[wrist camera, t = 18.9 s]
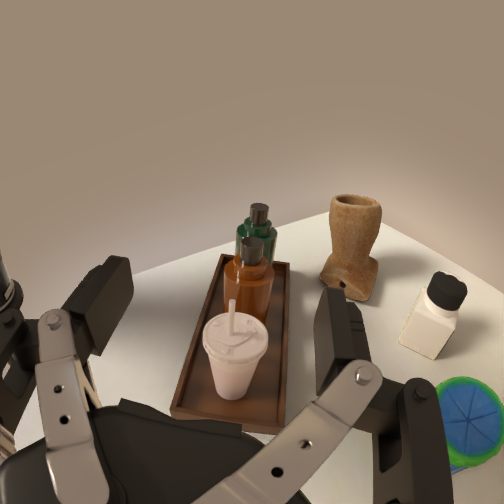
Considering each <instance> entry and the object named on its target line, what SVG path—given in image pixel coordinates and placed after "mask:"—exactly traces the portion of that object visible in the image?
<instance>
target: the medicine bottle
mask: <svg viewBox="0 0 504 504" xmlns="http://www.w3.org/2000/svg"><path fill="white" fill-rule="evenodd" d="M466 295H467V287H466V285H465V283H464V282H463V281H462V280H461V279H460V278H459V277H458V276H456V275H455V274H453V273H450V272H447V271H438V272H436V273H435V274H434V275H433V277H432V279H431V282H430V284H429V286H428V288H426V287H423V288H422V290H421V292H420V294H419V296H418V298H417V300H416V302H415V304H414V306H413V308H412V310H411V312H410V314H409V316H408V318H407V321H406V323H405V325H404V328H403V330H402V332H401V335H400V337H399V339H398V343H400V344H402V345H404V346H406V347H408V348H410V349H412V350H414V351H416V352H418V353H420V354H422V355H424V356H426V357H428V358H430V359H432V360H435V359H436V358H437V356H438V355H439V353H440V352H441V350H442V349H443V347H444V346H445V344H446V343H447V341H448V340H449V338H450V337H451V335H452V334H453V332H454V331H455V328H456V323H457V317H458V310H459V308H460V306H461V304H462V302H463V301H464V299H465V297H466Z"/></svg>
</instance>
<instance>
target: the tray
mask: <svg viewBox="0 0 504 504" xmlns="http://www.w3.org/2000/svg"><path fill="white" fill-rule="evenodd" d="M234 257H235V256H234V255H227V254H225V255H224V254H221V256H220V259H219V262H218V264H217V267H216V270H215V273H214V276H213V279H212V282H211V285H210V288H209V290H208V293H207V296H206V299H205V302H204V305H203V308H202V311H201V314H200V317H199V320H198V323H197V326H196V329H195V332H194V335H193V338H192V341H191V344H190V347H189V350H188V353H187V356H186V359H185V362H184V365H183V369H182V372H181V375H180V378H179V381H178V384H177V387H176V391H175V394H174V397H173V400H172V403H171V406H170V413H171V417H172V418H174V419H178V420H202V419H213V420H219V421H225V422H231V423H238V424H242V431H246V432H254V433H263V434H272V435H275V434H276V435H277V434H278V433H279V432H280V431H282V430H283V429H284V420H285V401H286V380H287V356H288V324H289V272H290V263H286V262H279V261H273V267H272V268H273V270H274V279H273V285H272V291H271V297H270V303H269V309H268V315H267V321H266V327H265V328H266V329H267V332H268V347H267V350H266V352H265V354H264V355H263V356H262V357H261V358H260V360H259V362H258V364H257V367H256V369H255V372H254V374H253V377H252V379H251V382H250V384H249V387H248V389H247V392H246V394H245V395H244V396H243V397H242V398H240V399H237V400H227V399H224V398H222V397H221V396H220V395H219V394H218V393H217V391H216V387H215V382H214V378H213V374H212V369H211V365H210V360H209V356H208V353H207V352H206V350H205V348H204V346H203V330H204V327H205V325H206V324H207V323H208V322H209V321H210V320H211V319H212V318H214V317H215V316H217V315H220V314H222V313H223V288H224V268H225V266H226V264H227V263H228V262H229V261H231V260H233V259H234Z"/></svg>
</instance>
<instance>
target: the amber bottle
mask: <svg viewBox="0 0 504 504" xmlns="http://www.w3.org/2000/svg"><path fill="white" fill-rule="evenodd" d="M263 246H264V242H263V241H262V240H261V239H260V238H257V237H253V236H249V237H244V238H243V239H242V240H241V246H240V253H238V254H237V255H235V257H234V259H233V260H231V261H229V262H228V263H227V264H226V266H225V268H224V288H223V313H229V300H230V299H234V300H235V301H236V303H235V312H239V313H245V314H248V315H251V316H253V317H255V318H256V319H258V320H259V321H260V322H261V323H262V324H263V325H264V326H265V327H266V321H267V315H268V309H269V303H270V297H271V291H272V285H273V279H274V270H273V268H272V267H271V265H269V264H268V263H267V259H266V258H265V257H264V256H263V255H262V254H263ZM223 313H222V314H223Z"/></svg>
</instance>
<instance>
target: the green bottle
mask: <svg viewBox="0 0 504 504" xmlns="http://www.w3.org/2000/svg"><path fill="white" fill-rule="evenodd" d="M268 212H269V207H268V206H267V205H265V204H262V203H254V204H252V205H251V207H250V217H248V218H246V219H245V221H244V224H241V225H240V226H239V227H238V228H237V233H236V247H235V255H237V254H238V253H240V246H241V240H242V239H243V238H244V237H249V236H253V237H257V238H260V239H261V240H262V241H263V242H264V246H263V254H262V255H263V256H264V257H265V258H266V259H267V263H268V264H269V265H271V267H273V260H274V253H275V247H276V240H277V231H276V230H275V229H274V228H273V227H272V223H271V221H270V220H268Z"/></svg>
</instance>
